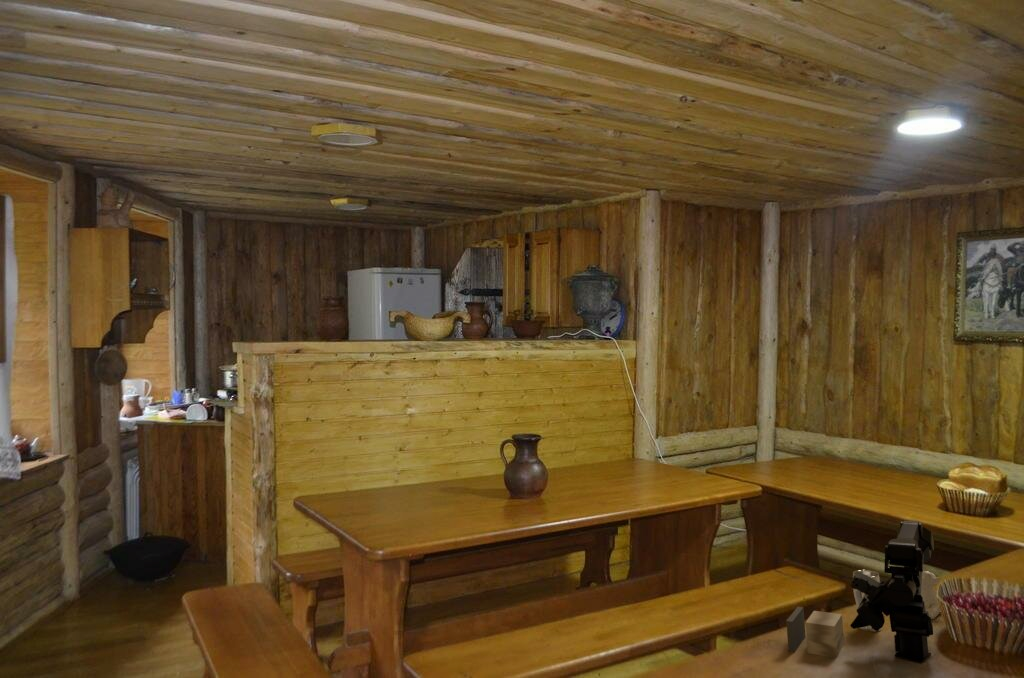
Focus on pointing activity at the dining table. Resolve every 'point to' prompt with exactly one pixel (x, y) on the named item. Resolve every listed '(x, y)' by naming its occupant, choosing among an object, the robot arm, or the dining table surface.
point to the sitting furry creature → (930, 594)
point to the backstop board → (795, 629)
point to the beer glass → (861, 595)
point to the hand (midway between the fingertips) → (851, 626)
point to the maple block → (824, 634)
